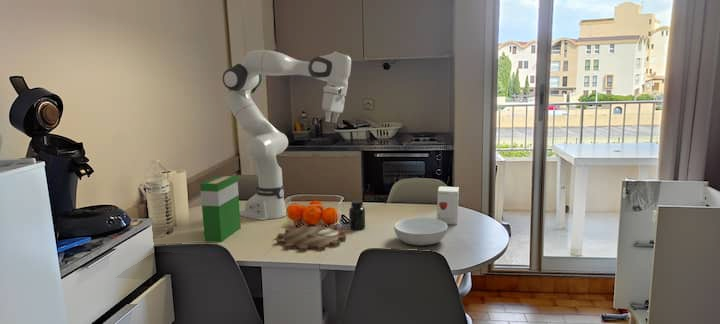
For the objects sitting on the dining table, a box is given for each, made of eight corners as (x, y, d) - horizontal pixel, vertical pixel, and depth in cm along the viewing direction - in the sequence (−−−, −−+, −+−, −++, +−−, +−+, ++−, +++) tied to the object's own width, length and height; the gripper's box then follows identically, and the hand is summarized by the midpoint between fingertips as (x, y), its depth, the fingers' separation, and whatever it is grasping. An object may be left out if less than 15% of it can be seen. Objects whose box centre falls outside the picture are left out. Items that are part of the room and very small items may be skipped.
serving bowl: (412, 229, 209) (412, 214, 208) (456, 239, 196) (457, 223, 195) (383, 243, 194) (383, 226, 192) (429, 255, 181) (429, 237, 179)
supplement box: (436, 223, 216) (436, 190, 213) (438, 217, 225) (438, 185, 222) (457, 224, 214) (458, 191, 211) (458, 218, 223) (459, 186, 220)
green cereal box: (225, 227, 217) (221, 174, 212) (240, 228, 215) (237, 174, 211) (204, 241, 200) (200, 183, 195) (221, 242, 198) (217, 184, 194)
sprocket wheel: (263, 246, 193) (263, 242, 192) (299, 225, 218) (299, 221, 217) (326, 255, 182) (326, 251, 181) (356, 232, 207) (356, 228, 206)
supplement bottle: (346, 229, 211) (345, 202, 208) (354, 224, 217) (353, 198, 214) (360, 231, 208) (360, 204, 205) (368, 227, 213) (367, 200, 211)
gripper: (336, 91, 221) (331, 121, 223) (322, 86, 201) (316, 120, 203) (349, 93, 220) (344, 123, 221) (336, 89, 200) (330, 122, 201)
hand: (330, 122), depth 212 cm, fingers open, 8 cm apart
